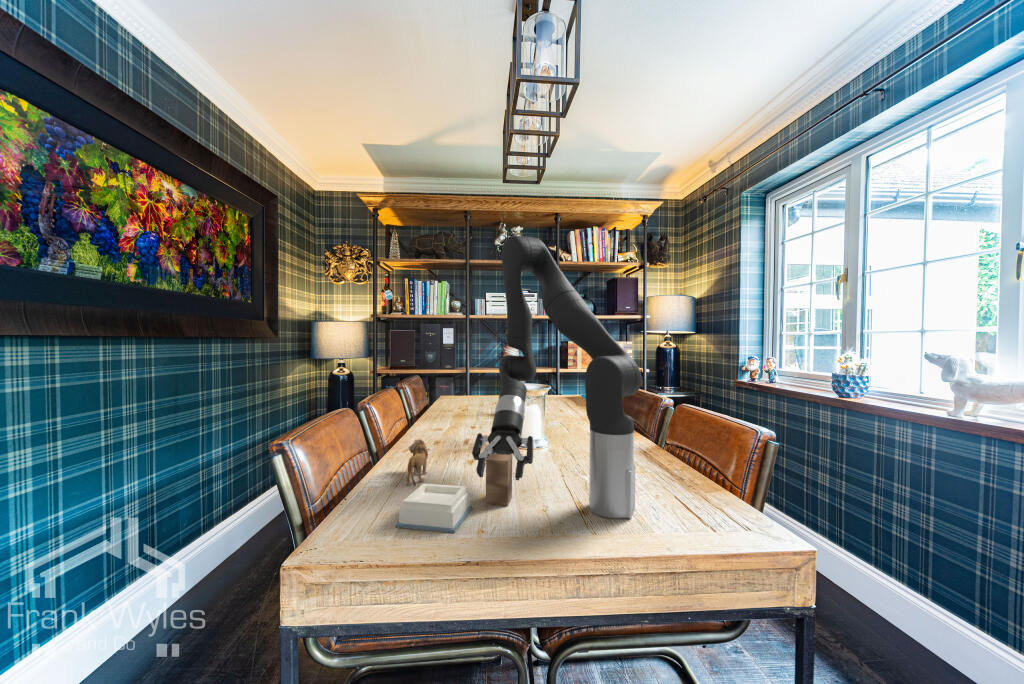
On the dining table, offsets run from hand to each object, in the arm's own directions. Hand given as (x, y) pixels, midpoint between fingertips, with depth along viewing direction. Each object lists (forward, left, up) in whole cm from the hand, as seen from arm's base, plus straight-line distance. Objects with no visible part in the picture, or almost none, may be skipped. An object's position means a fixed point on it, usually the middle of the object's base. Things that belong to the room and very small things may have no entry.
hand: (498, 477), depth 92 cm
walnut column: (0, 0, -5) cm, 6 cm away
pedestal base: (+8, +13, -5) cm, 16 cm away
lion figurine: (+27, -5, -6) cm, 28 cm away
